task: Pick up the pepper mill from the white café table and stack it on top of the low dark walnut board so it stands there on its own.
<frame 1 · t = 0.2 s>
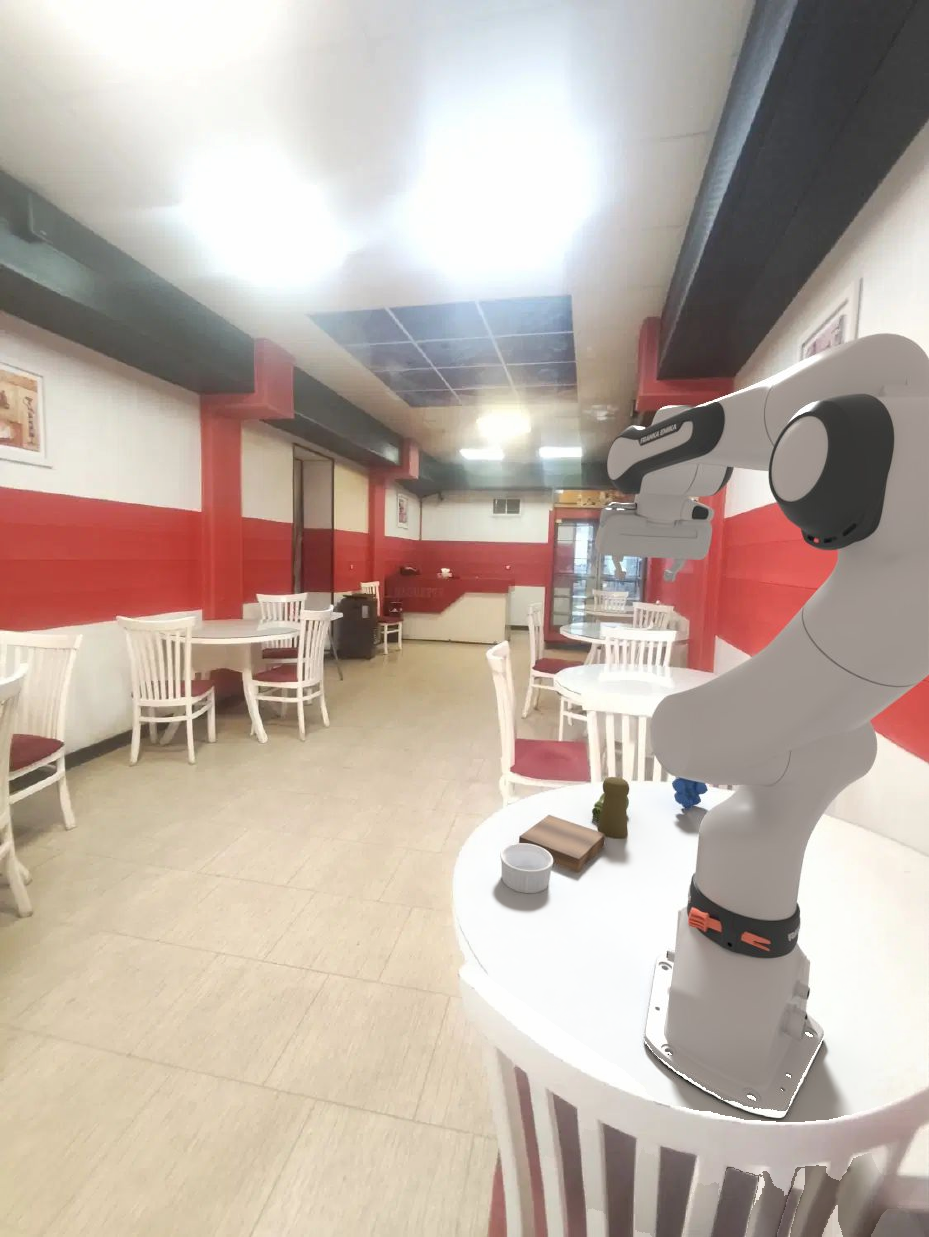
hand: (644, 579, 100), 51 cm above the table, tool tilted 20°, fingers open, 8 cm apart
grapes: (690, 811, 122), on the table
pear: (608, 816, 118), on the table
walnut block: (561, 847, 103), on the table
pepper mill: (612, 832, 110), on the table
ramekin: (525, 881, 91), on the table
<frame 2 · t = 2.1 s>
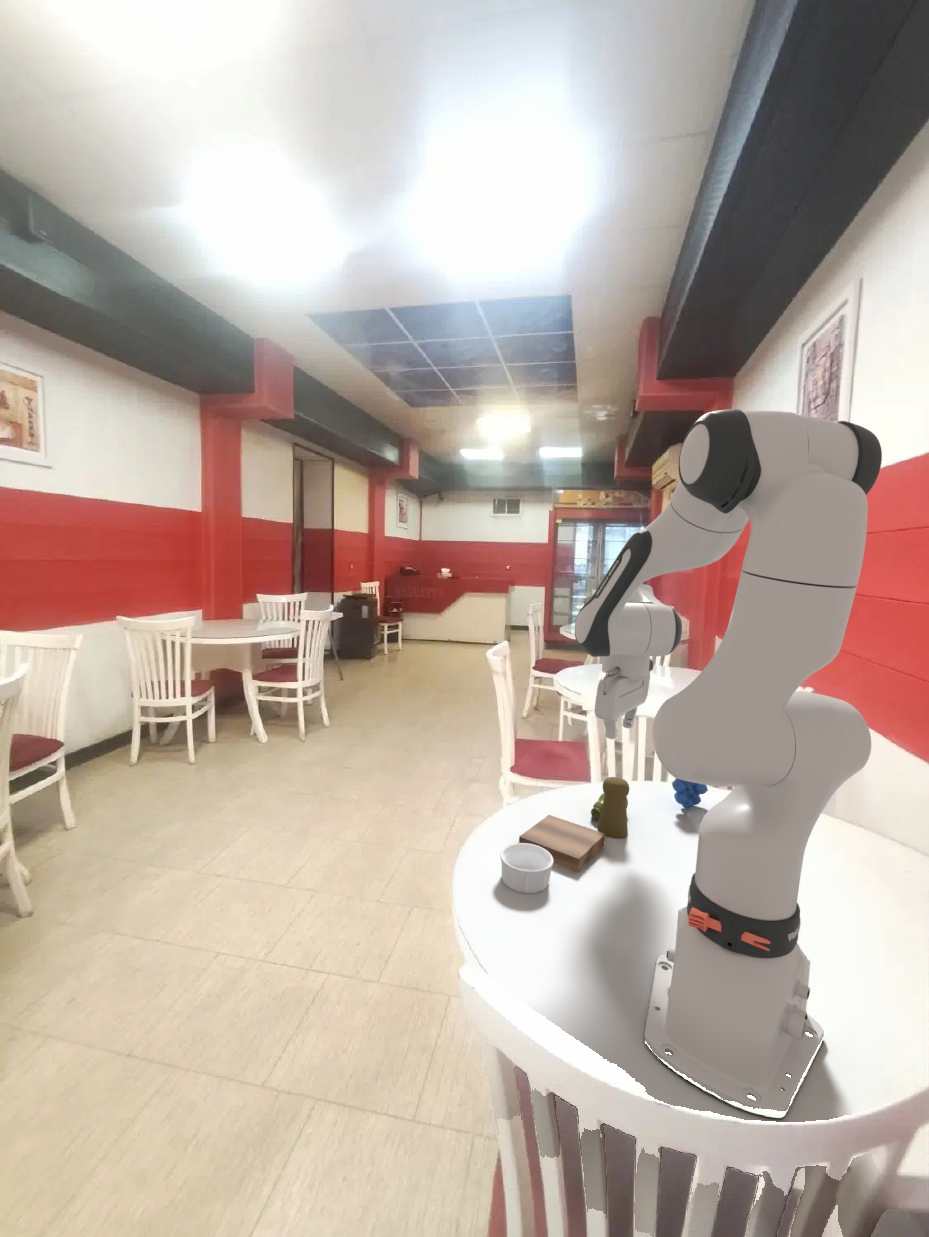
hand: (619, 732, 109), 21 cm above the table, tool pointing down, fingers open, 8 cm apart
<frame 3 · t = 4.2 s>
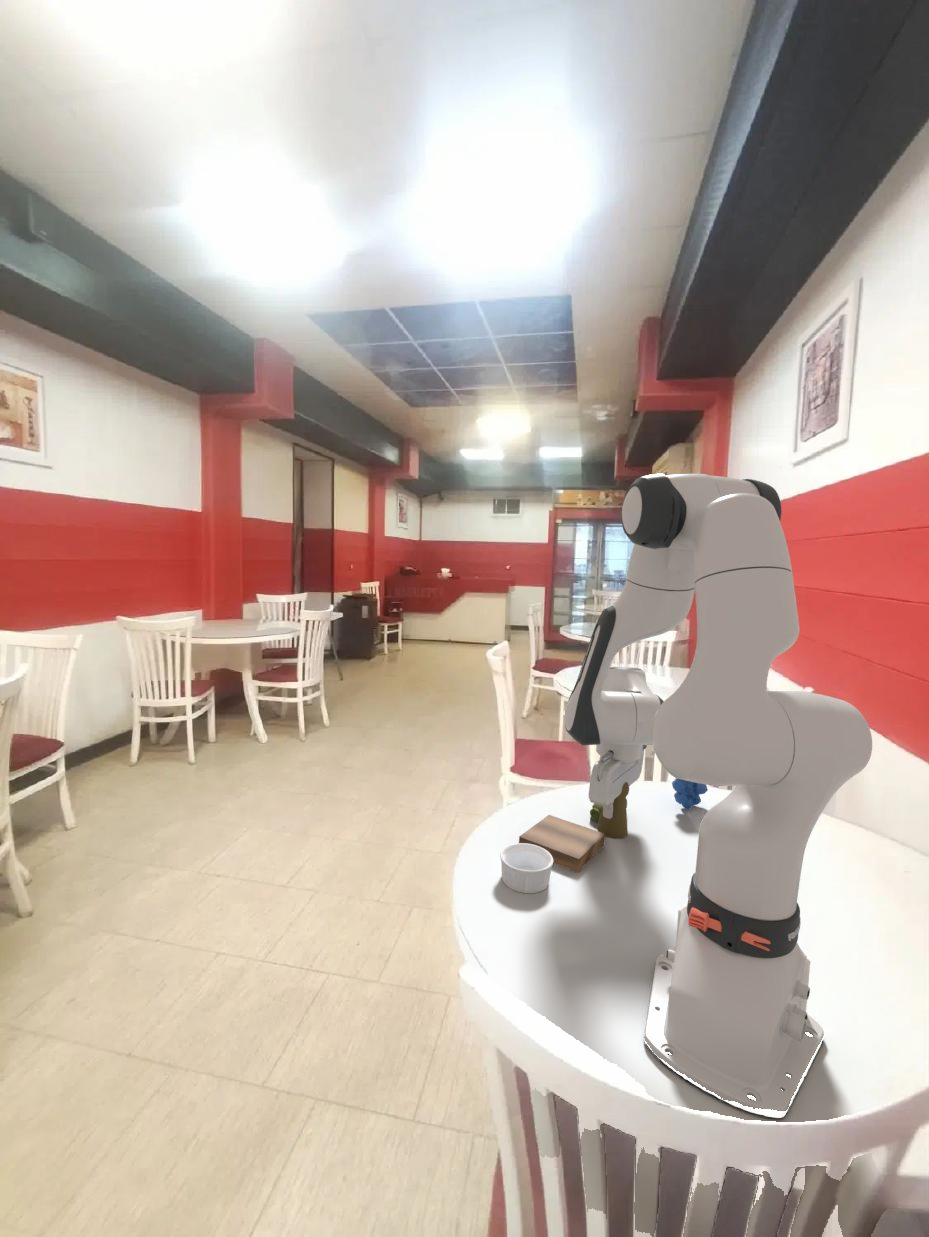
hand: (613, 811, 110), 4 cm above the table, tool pointing down, fingers closed on pepper mill, 5 cm apart
pepper mill: (612, 832, 110), on the table, touching gripper
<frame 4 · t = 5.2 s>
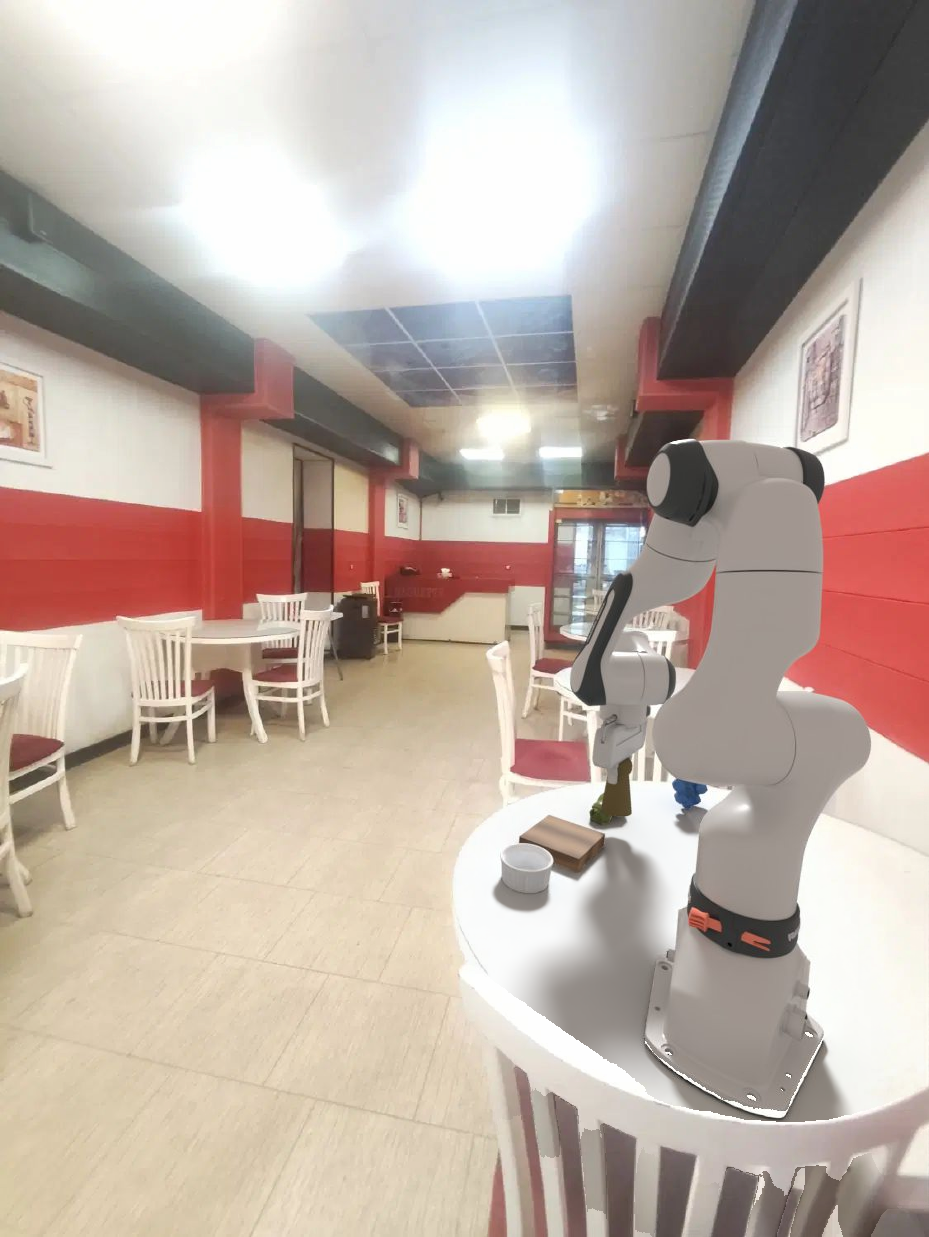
hand: (618, 779, 109), 11 cm above the table, tool pointing down, fingers closed on pepper mill, 4 cm apart
pepper mill: (616, 811, 109), point 5 cm above the table, touching gripper
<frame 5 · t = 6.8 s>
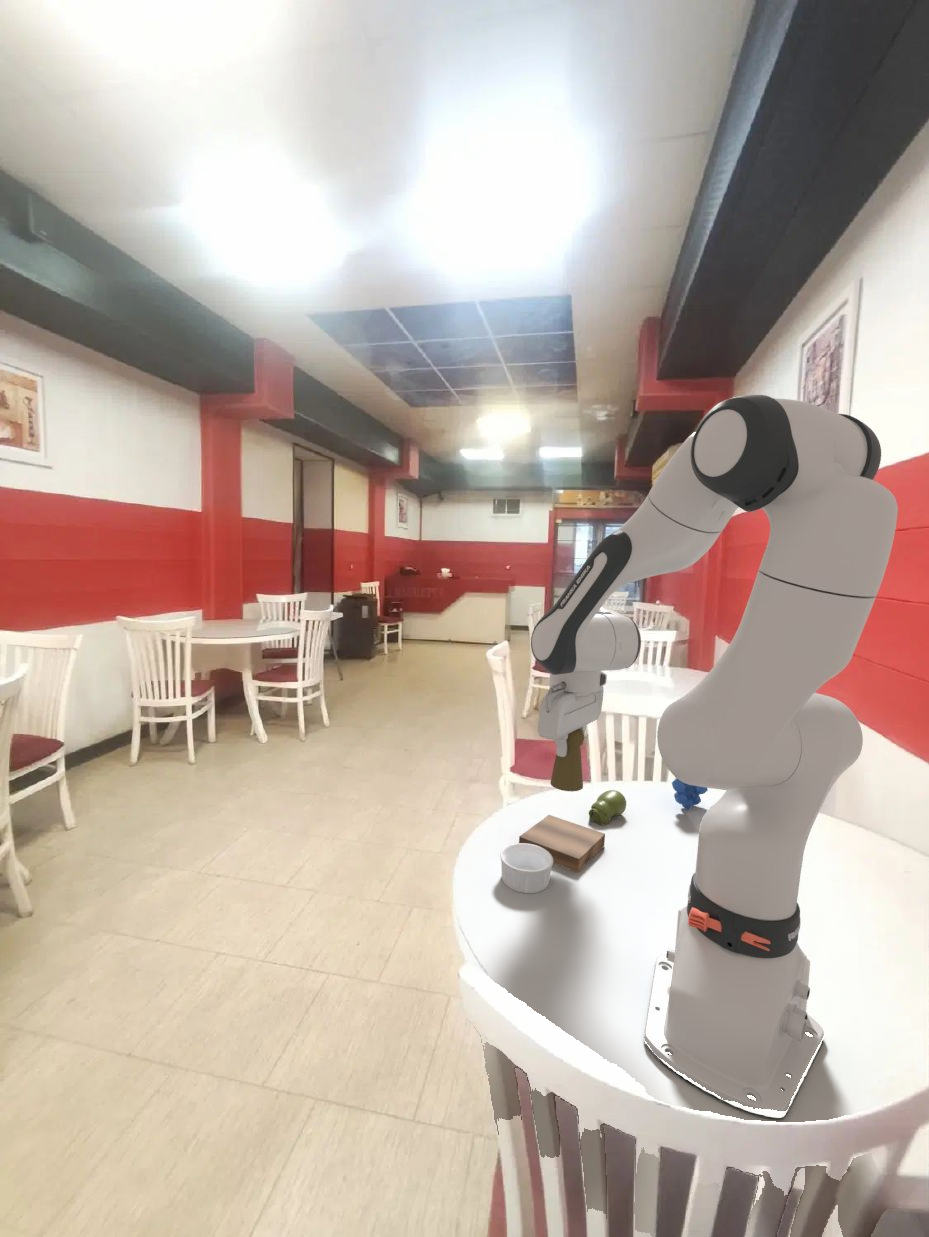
hand: (569, 751, 101), 19 cm above the table, tool pointing down, fingers closed on pepper mill, 4 cm apart
pepper mill: (566, 785, 101), point 12 cm above the table, touching gripper
when the fingers open (10 cm above the table, at t = 8.5 s): pepper mill stays where it is, resting on walnut block.
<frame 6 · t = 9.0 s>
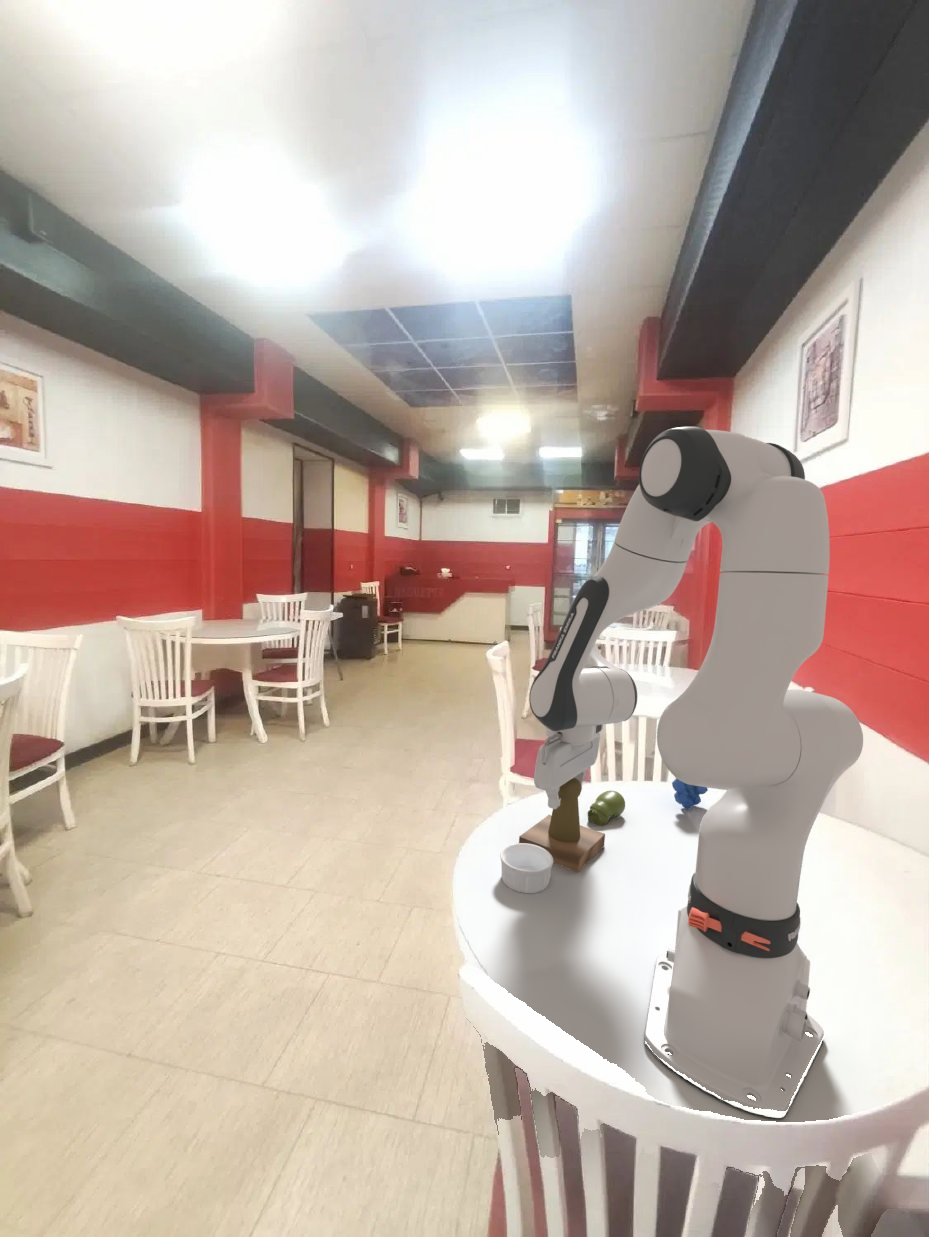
hand: (565, 799, 102), 10 cm above the table, tool pointing down, fingers open, 8 cm apart
pepper mill: (564, 835, 103), point 2 cm above the table, touching walnut block
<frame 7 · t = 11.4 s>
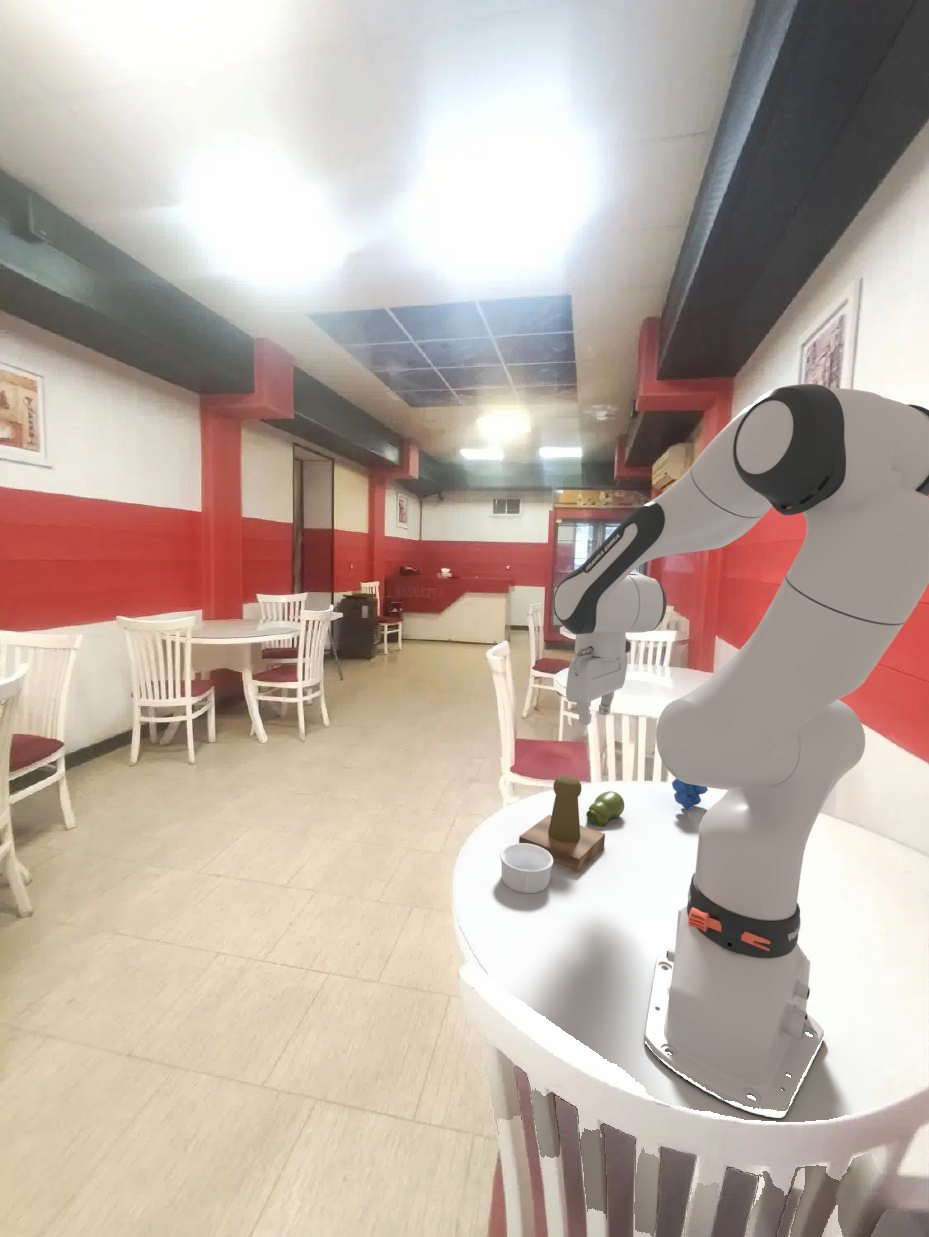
hand: (594, 719, 100), 25 cm above the table, tool pointing down, fingers open, 8 cm apart
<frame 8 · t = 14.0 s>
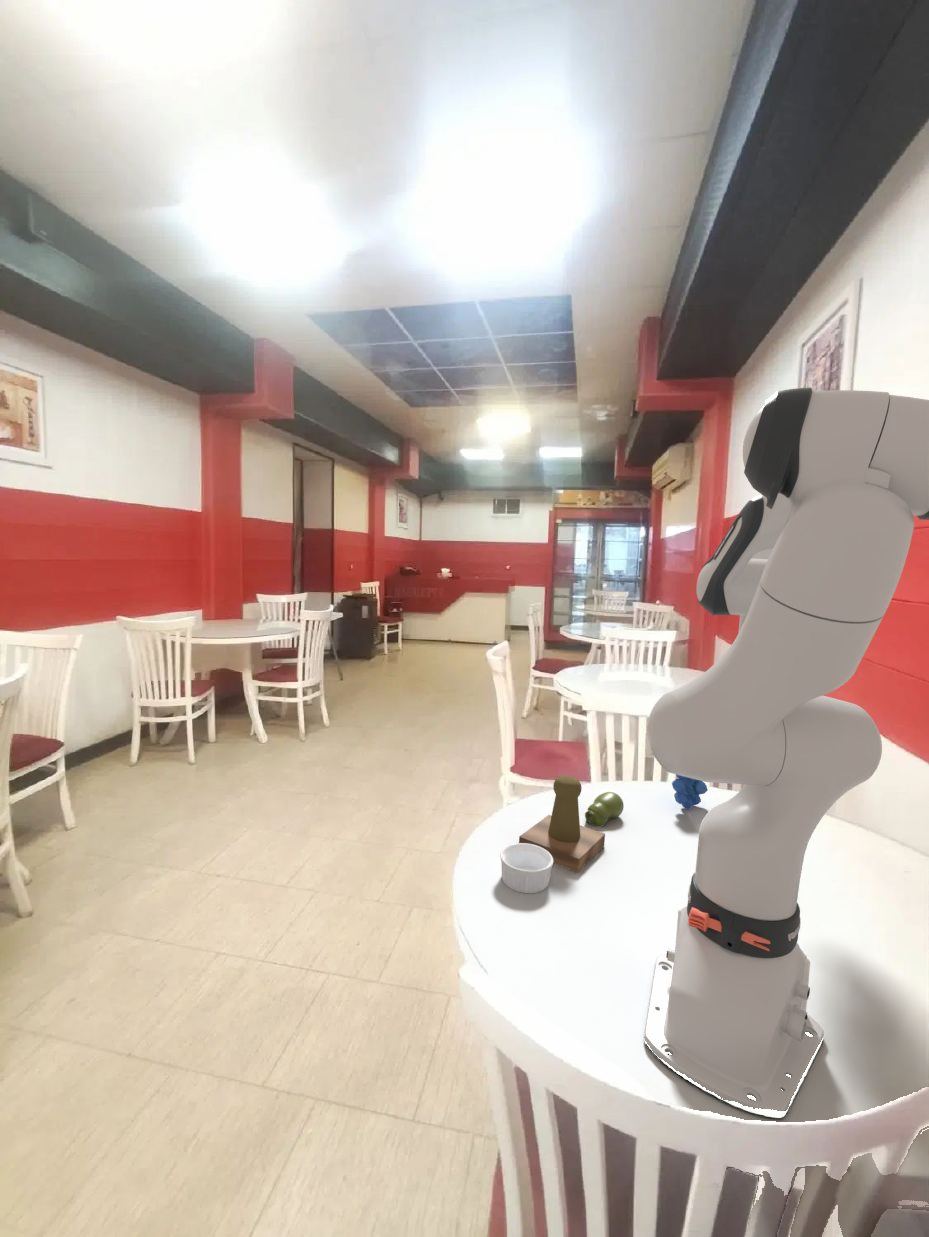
hand: (758, 706, 100), 29 cm above the table, tool pointing down, fingers open, 8 cm apart
at the end: pepper mill inside the target area on the walnut block (0.4 cm from its centre), point 2.3 cm above the walnut block's base; pepper mill tilted 0°; the gripper is holding nothing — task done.
